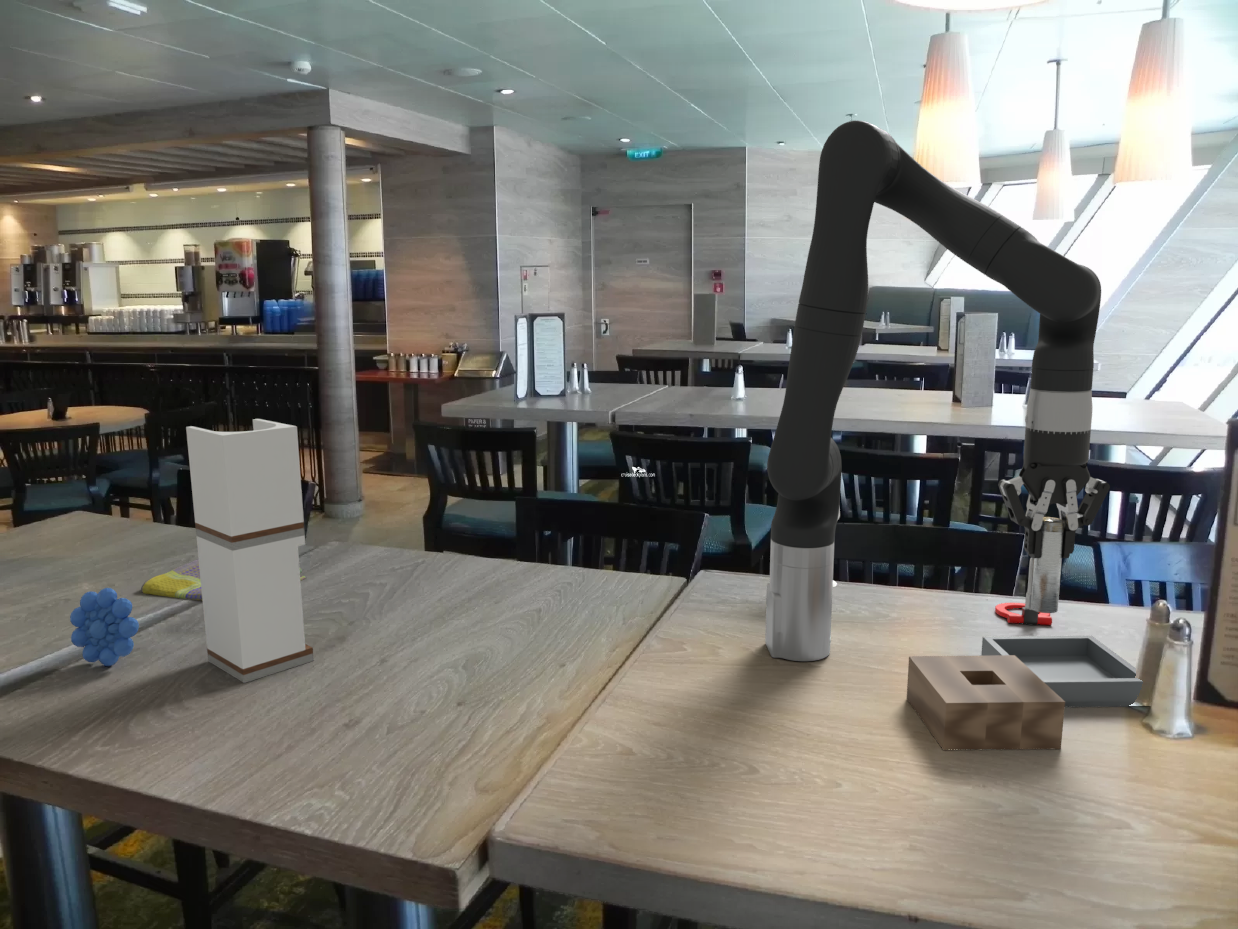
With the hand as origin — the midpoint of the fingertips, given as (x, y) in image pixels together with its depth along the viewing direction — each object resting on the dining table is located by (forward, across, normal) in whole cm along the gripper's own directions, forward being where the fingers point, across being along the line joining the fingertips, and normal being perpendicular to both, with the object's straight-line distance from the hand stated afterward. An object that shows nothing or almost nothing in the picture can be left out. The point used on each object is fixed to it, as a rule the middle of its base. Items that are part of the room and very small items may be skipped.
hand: (1048, 556), depth 122 cm
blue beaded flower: (+18, -130, +11) cm, 132 cm away
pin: (+7, 0, 0) cm, 7 cm away
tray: (+19, +5, +5) cm, 21 cm away
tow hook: (+20, +10, +31) cm, 38 cm away
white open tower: (+19, -109, +12) cm, 111 cm away
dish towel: (+19, -130, +48) cm, 140 cm away
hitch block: (+19, -10, -8) cm, 23 cm away
